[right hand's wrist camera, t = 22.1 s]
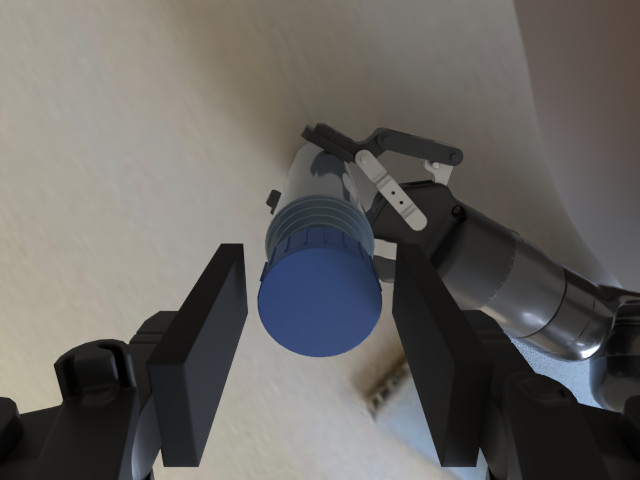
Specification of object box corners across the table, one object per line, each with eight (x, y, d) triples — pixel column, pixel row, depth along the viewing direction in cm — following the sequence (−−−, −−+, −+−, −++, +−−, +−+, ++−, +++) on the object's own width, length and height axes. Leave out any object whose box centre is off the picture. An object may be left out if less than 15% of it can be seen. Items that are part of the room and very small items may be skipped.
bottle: (281, 167, 35) (220, 295, 13) (319, 127, 34) (318, 196, 12) (320, 204, 36) (320, 376, 15) (358, 166, 35) (419, 293, 13)
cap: (241, 262, 14) (229, 287, 13) (338, 203, 14) (341, 220, 12) (303, 344, 16) (301, 377, 14) (396, 293, 15) (406, 322, 13)
